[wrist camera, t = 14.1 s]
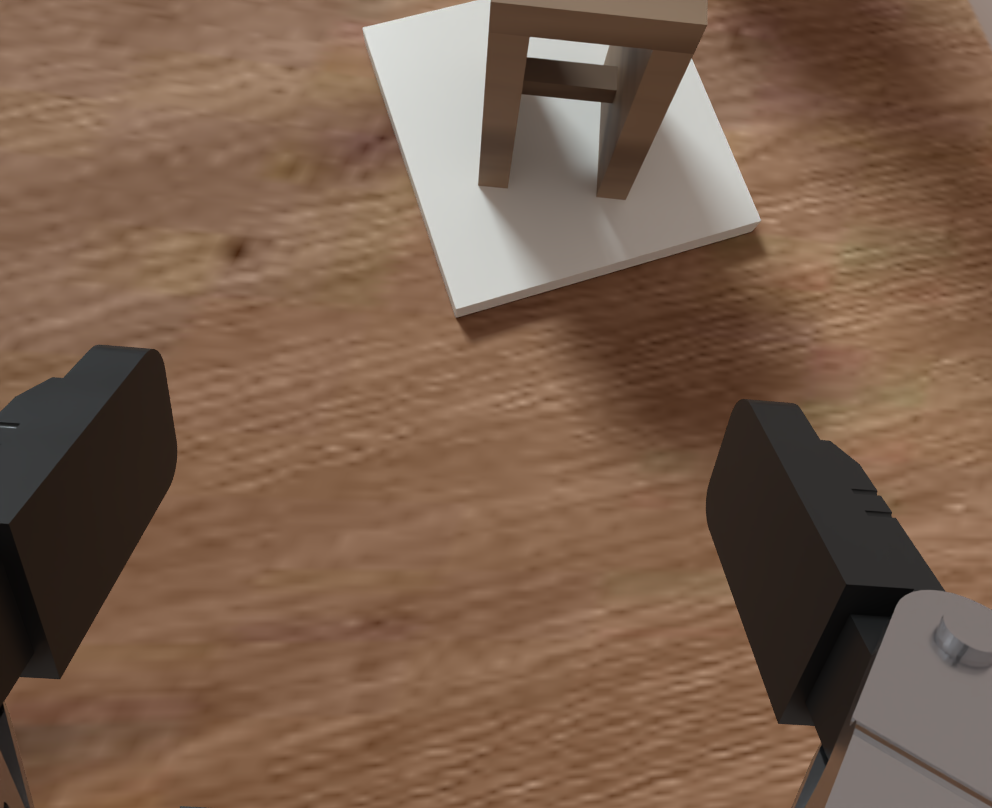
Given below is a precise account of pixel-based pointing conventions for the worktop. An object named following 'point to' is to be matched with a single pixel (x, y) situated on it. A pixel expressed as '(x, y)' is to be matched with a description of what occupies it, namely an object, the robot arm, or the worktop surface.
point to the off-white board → (543, 167)
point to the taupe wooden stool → (589, 75)
